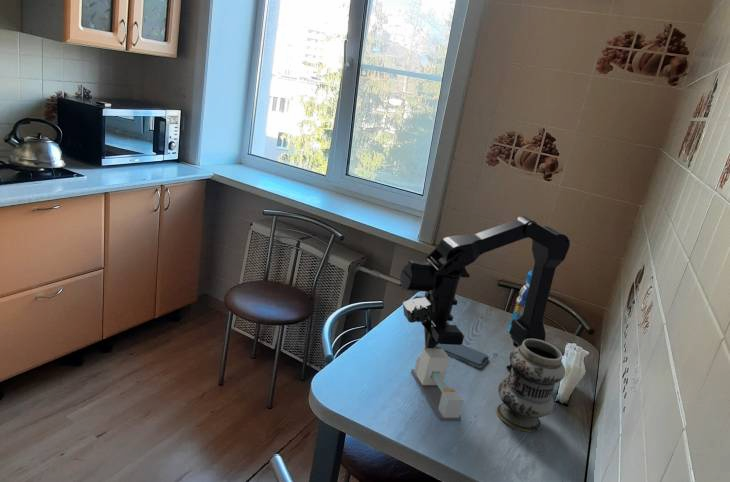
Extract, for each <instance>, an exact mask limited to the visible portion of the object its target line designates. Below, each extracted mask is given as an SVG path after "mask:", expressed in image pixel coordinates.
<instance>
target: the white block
mask: <svg viewBox="0 0 730 482" xmlns="http://www.w3.org/2000/svg"><path fill="white" fill-rule="evenodd" d="M421 355H422V356H421V360H420V363H419V367H418V371H417V377H418V378H419V380H420V382H421V384H422V385H437V384H436V382H435V381H434V379H433V378H432V376H431V375H432V371H436V372H438V373H439V375H440V376H441V378H442V379H443V381H444V380H445V376H446V372H447V371H448V370H447V369H448V366H449V362H450V358H451V357H450V356H449V355H447V354H446V353H445V351H444V350H443V349H432V348H425V347H424V348H422V352H421Z"/></svg>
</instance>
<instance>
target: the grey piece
mask: <svg viewBox="0 0 730 482" xmlns="http://www.w3.org/2000/svg"><path fill="white" fill-rule="evenodd" d="M421 356H422V354H418V355H417V359H416V364H415V366H414V369H411V372H410V373H411V375H412V376H413V378H414V380H415V382H416V383H417V384H418V387H419V389H420V390H421V392H422V393H423V395H424V397H425V398H426V400H427V402H428V404H429V406H430V407H431V409H432V410H433V413H434V414H435V416H436V417H437V419H438V421H439V422H443V421H444V422H445V421H446V422H449V421H450V422H453V421H455V422H456V421H458V422H459V421H462V416H461V414H460V413H461V411H462V407H463V404H464V398H463V397H462V395H461V394H460V393H459V391H456V389H455V388H452V387H451V388H449V387H448V385H447V384H446V382H445V381H444V380H443V379H442V378H441V376H440V375H439V373H438V372H436V371H432V375H431V376H432V378H433V379H434V381H435V382H436V384H437V385H422V384H421V382H420V380H419V378H418V377H417V371H418V367H419V363H420V360H421Z"/></svg>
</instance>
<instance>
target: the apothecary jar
mask: <svg viewBox="0 0 730 482" xmlns="http://www.w3.org/2000/svg"><path fill="white" fill-rule="evenodd" d="M562 359H563V354H562V352H561V350H560V349H559V348H557V347H556V346H554V345H553V344H551V343H549V342H547V341H546V340H545V341H542V340H539V339H526V340H524V341H523V342H522V345H521V346H519V347H515V348H513V349H512V350H511V351H510V353H509V361H510V363H511V365H512V369H511V372H510V371H509V374H508V377H505V378H503V380H501V382H500V383H499V385H498V390H497V391H498V395H499V398H500V400H501V402H502V403H500V404H499V405H498V406H497V408H496V413H497V416H498V417H499V419H500V420H501V421H502V422H503V423H505V424H506V425H507V426H510V427H511V428H512V429H515V430H517V431H520V432H526V433H531V432H533V431H539V430H540V428H541V426H542V424H541V420H540V418H543V417H547V416H548V415H550V414H551V412H552V411H553V409H554V404H555V403H554V399H553V396H552V394H553V390H554V387H555V385H556V384H557V383H560V382H562V380H563V379H564V377H565V376H566V368H565V365H564V364H563V361H562Z"/></svg>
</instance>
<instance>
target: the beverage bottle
mask: <svg viewBox="0 0 730 482" xmlns="http://www.w3.org/2000/svg"><path fill="white" fill-rule="evenodd" d="M532 273H533V270H529V271H528V273H527V275H526V279H525V283H526V284H524V285H523V286H522V287H521V289H520V290H519V295H518V297H516V301H515V306H514V309H513V312H512V316H511V319H510V322H509V325H508V328H507V330H508V332H509V331H510V329H511V327H512V320H513V319H515V320H518V319H519V318H520V317H521V316H522V315H523V312H524V307H525V303H526V299H527V295H528V290H529V286H530V282H531V277H532Z"/></svg>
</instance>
